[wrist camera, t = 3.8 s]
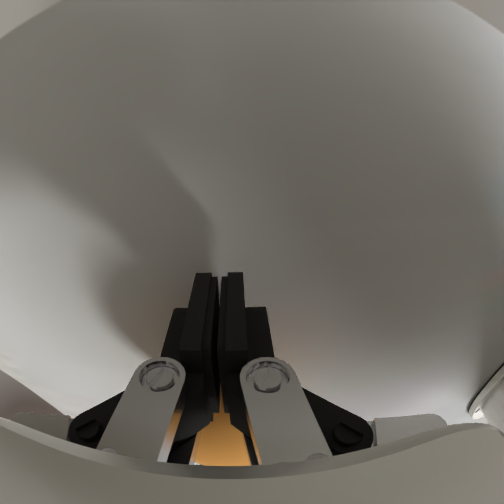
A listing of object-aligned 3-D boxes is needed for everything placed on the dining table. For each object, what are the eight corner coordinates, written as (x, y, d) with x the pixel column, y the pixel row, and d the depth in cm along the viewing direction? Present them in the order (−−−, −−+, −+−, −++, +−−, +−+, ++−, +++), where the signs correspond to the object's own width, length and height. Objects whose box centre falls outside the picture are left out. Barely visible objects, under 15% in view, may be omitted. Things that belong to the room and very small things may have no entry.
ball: (328, 343, 11) (321, 469, 9) (250, 341, 16) (247, 436, 14) (188, 343, 8) (190, 506, 6) (147, 335, 13) (147, 445, 11)
